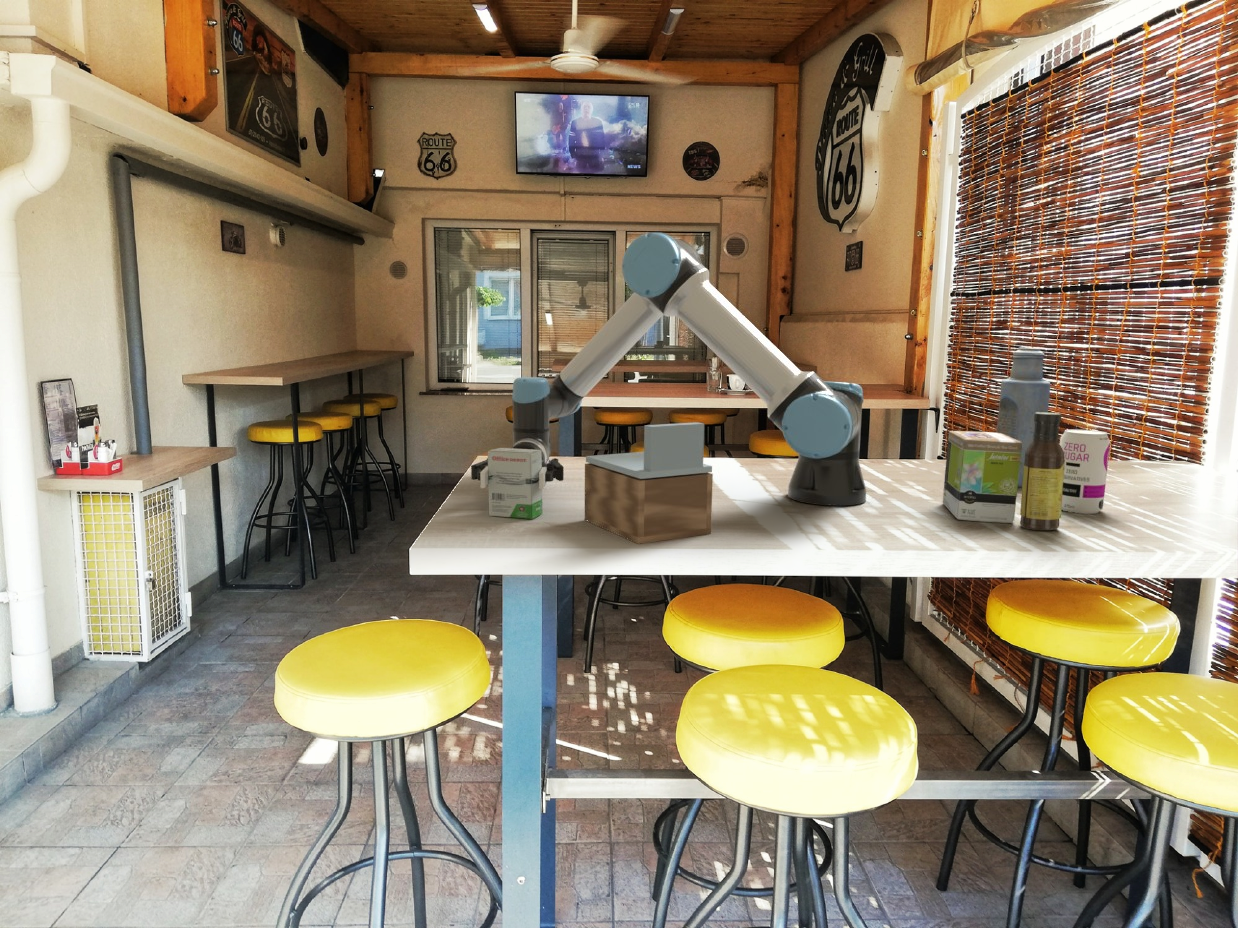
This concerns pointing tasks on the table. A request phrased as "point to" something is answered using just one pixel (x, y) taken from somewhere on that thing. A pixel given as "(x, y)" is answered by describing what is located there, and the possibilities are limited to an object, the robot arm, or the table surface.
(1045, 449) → the sauce bottle
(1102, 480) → the supplement can
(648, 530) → the crate
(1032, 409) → the bottle
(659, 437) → the lid
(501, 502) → the ink box
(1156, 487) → the table surface
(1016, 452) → the tea box
